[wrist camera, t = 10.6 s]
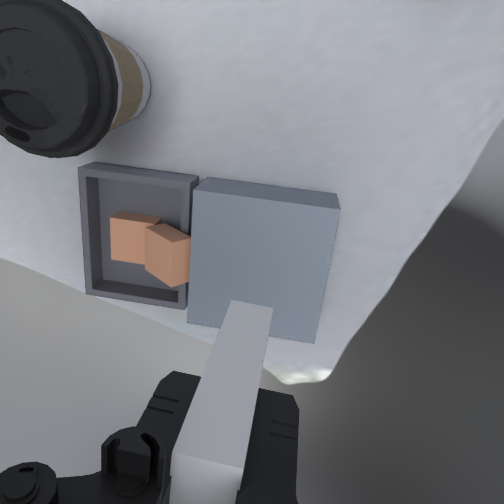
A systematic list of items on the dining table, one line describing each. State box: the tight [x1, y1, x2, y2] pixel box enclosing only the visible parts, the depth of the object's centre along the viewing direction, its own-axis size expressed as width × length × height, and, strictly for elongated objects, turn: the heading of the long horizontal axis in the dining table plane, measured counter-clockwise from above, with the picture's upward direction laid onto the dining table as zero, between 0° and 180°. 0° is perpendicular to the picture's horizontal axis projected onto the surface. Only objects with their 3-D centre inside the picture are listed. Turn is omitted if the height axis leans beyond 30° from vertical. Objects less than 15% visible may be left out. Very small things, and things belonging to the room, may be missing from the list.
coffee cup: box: [0, 0, 151, 158], centre depth 35 cm, size 11×11×15 cm
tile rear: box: [110, 211, 162, 265], centre depth 46 cm, size 5×5×2 cm
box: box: [78, 162, 199, 310], centre depth 46 cm, size 12×15×4 cm
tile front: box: [145, 223, 191, 287], centre depth 43 cm, size 5×5×2 cm
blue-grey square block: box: [187, 177, 340, 344], centre depth 44 cm, size 14×15×6 cm
